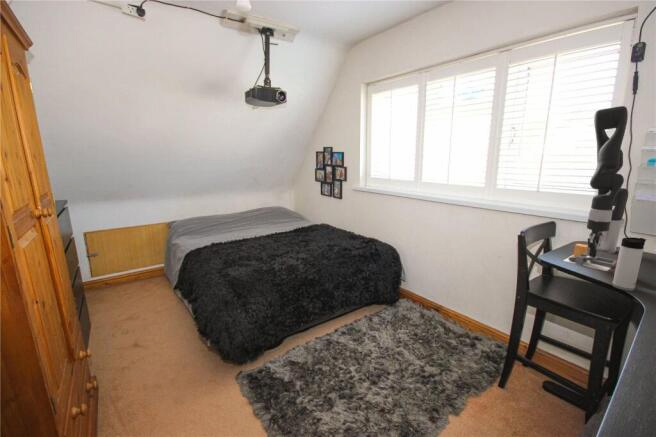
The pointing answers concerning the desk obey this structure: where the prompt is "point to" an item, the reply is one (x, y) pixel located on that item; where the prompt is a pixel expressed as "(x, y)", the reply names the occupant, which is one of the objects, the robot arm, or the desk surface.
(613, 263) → the lockout socket
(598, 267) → the breaker panel
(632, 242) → the travel mug
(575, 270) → the desk surface
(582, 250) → the block
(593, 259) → the breaker rocker
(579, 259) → the switch mount
